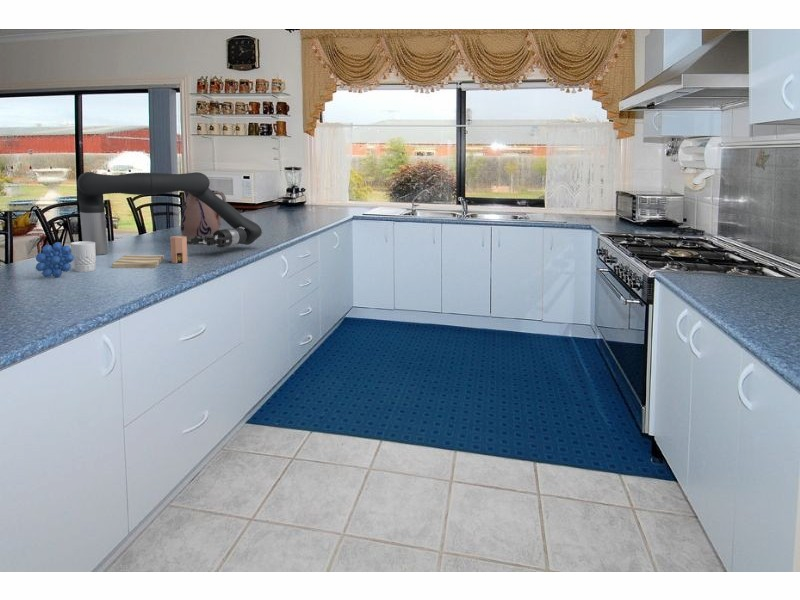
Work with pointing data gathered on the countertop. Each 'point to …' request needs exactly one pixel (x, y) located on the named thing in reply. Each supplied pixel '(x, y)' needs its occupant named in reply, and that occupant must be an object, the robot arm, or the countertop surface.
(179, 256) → the mustard ball
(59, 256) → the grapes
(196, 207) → the ceramic pitcher
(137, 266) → the oak board
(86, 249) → the white cup
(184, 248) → the salmon octagonal post
